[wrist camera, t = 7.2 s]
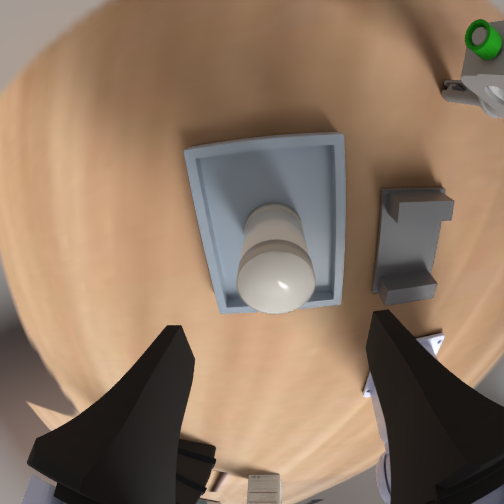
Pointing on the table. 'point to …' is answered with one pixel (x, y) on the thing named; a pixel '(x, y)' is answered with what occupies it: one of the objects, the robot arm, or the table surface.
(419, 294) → the holder
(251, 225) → the white cylindrical jar
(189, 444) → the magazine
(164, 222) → the table surface
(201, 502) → the stereo radio cassette player
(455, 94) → the mechanical component
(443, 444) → the robot arm
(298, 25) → the table surface
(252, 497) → the supplement box
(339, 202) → the tray
